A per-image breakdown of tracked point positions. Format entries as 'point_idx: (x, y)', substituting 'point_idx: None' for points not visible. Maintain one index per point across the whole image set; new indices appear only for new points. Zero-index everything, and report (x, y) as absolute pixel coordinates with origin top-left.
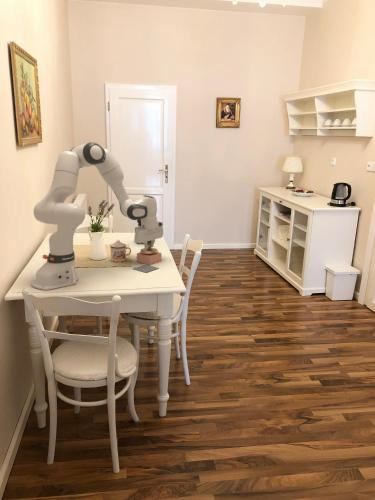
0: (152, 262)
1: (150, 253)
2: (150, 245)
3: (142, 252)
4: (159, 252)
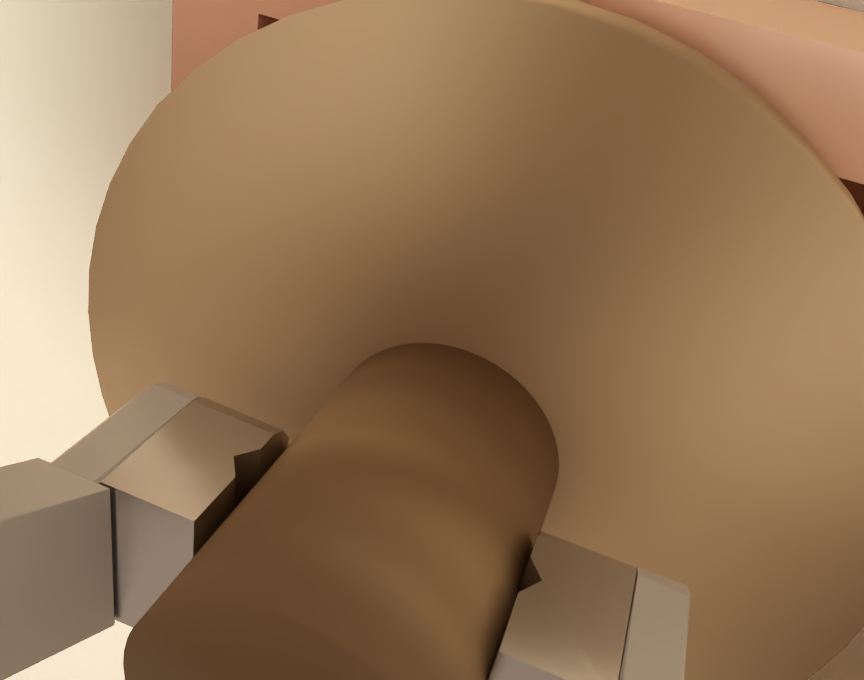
0: (813, 4)
1: (849, 201)
2: (383, 550)
3: (848, 607)
4: (175, 17)
